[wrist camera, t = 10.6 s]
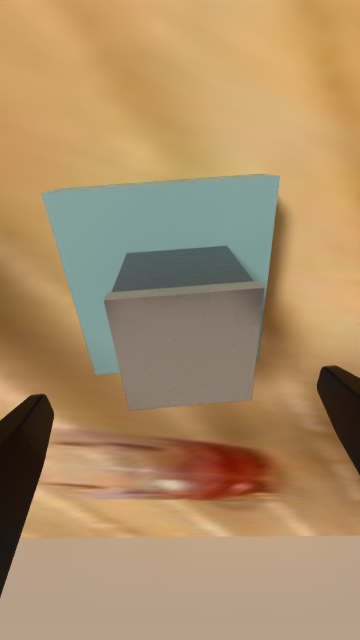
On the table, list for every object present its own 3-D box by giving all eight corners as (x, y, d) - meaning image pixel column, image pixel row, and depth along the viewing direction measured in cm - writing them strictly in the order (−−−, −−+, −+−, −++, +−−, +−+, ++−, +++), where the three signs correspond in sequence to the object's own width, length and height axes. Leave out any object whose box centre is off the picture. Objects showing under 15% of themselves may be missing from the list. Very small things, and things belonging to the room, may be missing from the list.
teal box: (104, 344, 21) (95, 375, 18) (65, 187, 15) (41, 193, 12) (244, 332, 21) (258, 360, 18) (256, 173, 15) (279, 176, 12)
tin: (138, 337, 16) (129, 410, 12) (124, 251, 14) (103, 300, 9) (225, 330, 16) (251, 399, 12) (228, 243, 14) (264, 287, 9)
